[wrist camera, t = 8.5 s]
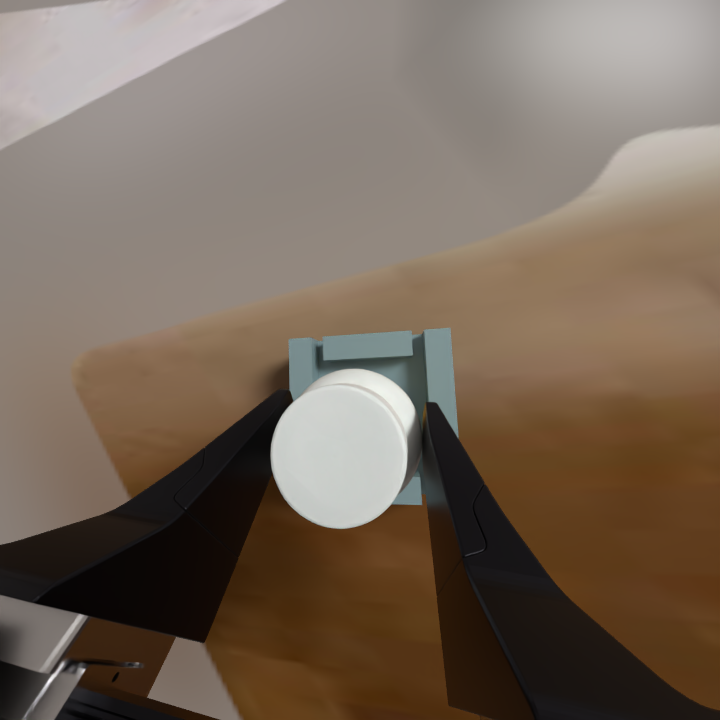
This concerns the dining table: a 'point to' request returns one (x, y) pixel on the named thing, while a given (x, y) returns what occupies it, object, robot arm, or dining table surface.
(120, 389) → the dining table surface
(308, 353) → the teal tray
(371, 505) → the supplement bottle
